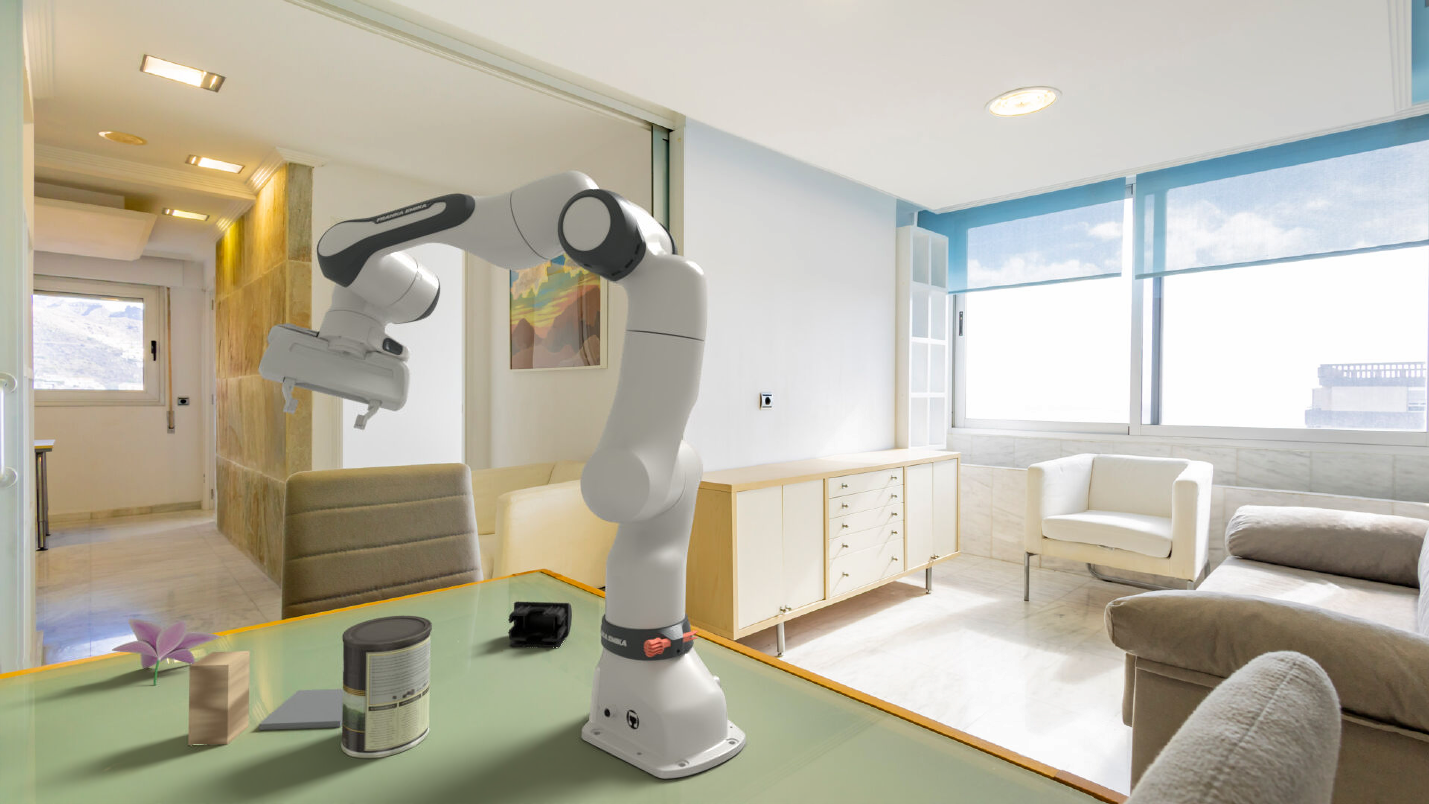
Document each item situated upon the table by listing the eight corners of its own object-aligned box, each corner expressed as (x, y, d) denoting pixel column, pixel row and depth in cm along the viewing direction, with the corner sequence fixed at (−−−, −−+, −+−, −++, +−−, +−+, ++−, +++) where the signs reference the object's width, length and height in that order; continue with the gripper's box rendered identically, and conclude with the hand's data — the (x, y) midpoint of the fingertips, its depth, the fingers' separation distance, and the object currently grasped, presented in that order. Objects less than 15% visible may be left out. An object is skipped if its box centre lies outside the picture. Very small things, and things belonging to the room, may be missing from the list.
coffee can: (322, 758, 80) (324, 641, 79) (369, 717, 90) (371, 614, 90) (405, 761, 79) (407, 644, 79) (443, 719, 89) (445, 616, 89)
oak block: (248, 726, 87) (249, 651, 87) (227, 744, 82) (228, 664, 82) (211, 728, 86) (212, 652, 86) (188, 746, 82) (189, 665, 82)
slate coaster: (370, 693, 97) (370, 688, 97) (340, 727, 87) (340, 721, 87) (298, 695, 96) (298, 690, 96) (258, 730, 86) (259, 723, 86)
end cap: (571, 634, 123) (572, 598, 123) (562, 649, 116) (562, 610, 116) (518, 633, 123) (519, 597, 123) (505, 647, 116) (506, 609, 116)
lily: (228, 674, 105) (230, 614, 109) (163, 674, 94) (168, 607, 98) (156, 696, 105) (161, 635, 109) (83, 698, 94) (91, 630, 98)
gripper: (276, 309, 97) (244, 392, 91) (420, 352, 107) (400, 430, 101) (272, 328, 102) (242, 408, 96) (411, 367, 112) (392, 442, 106)
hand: (324, 419), depth 98 cm, fingers open, 8 cm apart
